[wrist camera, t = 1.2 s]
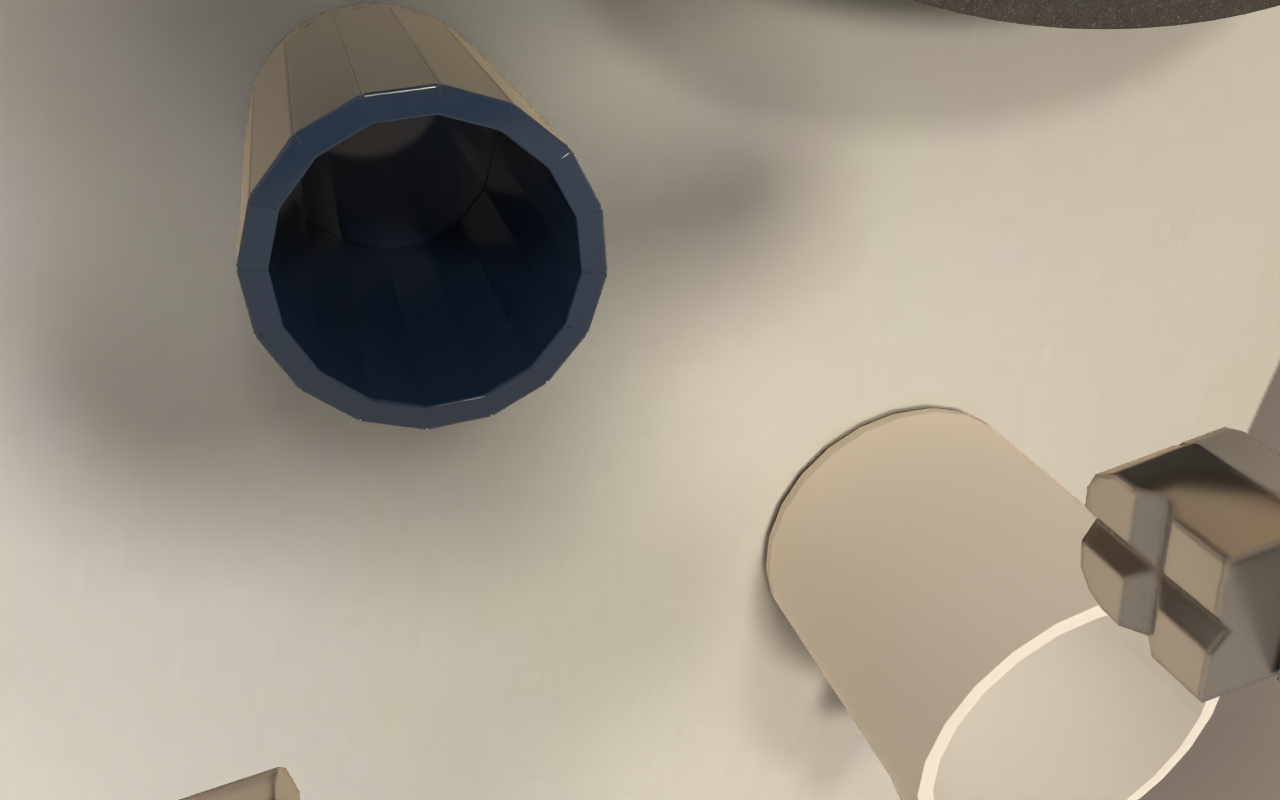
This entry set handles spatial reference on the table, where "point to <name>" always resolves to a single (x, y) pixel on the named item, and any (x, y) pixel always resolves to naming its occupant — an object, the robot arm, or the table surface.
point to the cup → (410, 223)
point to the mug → (970, 620)
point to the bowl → (1103, 11)
